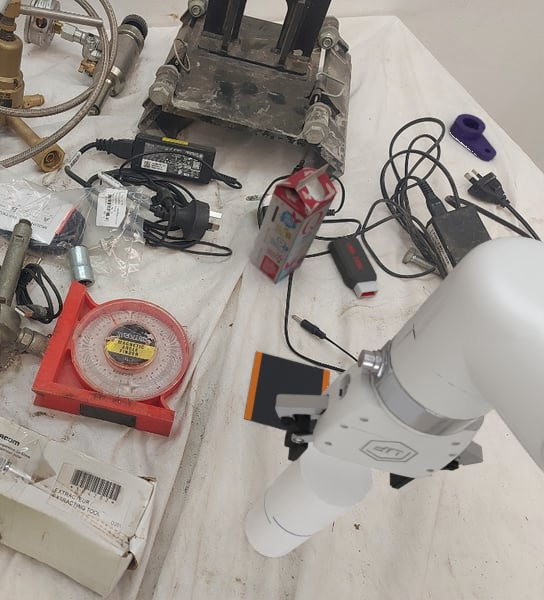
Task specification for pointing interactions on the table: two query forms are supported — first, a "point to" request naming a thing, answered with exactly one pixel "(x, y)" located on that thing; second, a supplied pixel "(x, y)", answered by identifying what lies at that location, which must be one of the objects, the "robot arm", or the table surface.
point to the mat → (280, 386)
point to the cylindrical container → (305, 501)
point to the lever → (473, 136)
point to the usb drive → (354, 266)
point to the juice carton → (292, 222)
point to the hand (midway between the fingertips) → (342, 459)
